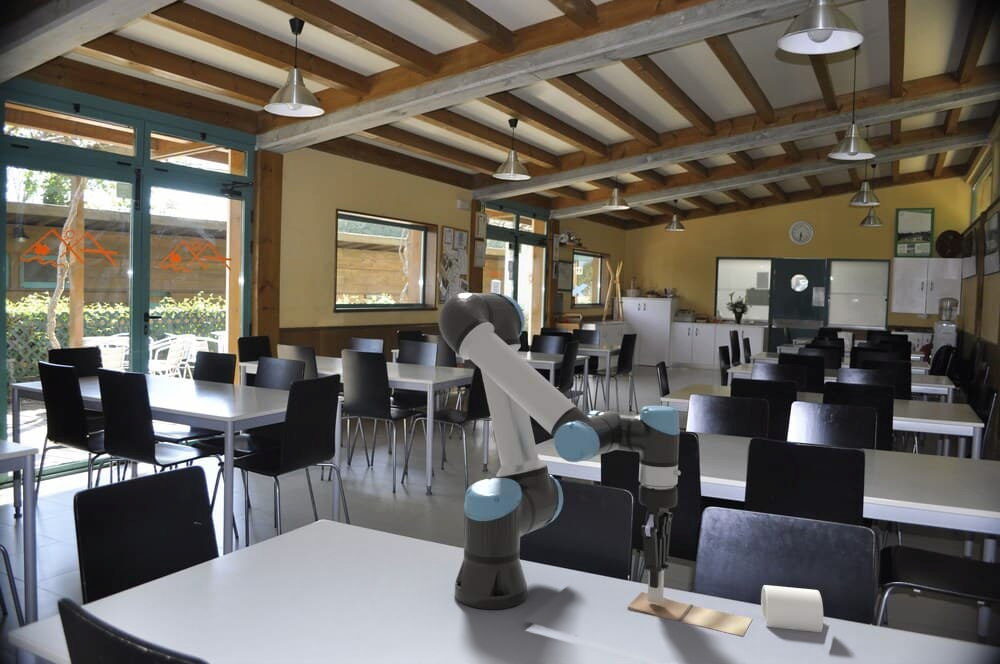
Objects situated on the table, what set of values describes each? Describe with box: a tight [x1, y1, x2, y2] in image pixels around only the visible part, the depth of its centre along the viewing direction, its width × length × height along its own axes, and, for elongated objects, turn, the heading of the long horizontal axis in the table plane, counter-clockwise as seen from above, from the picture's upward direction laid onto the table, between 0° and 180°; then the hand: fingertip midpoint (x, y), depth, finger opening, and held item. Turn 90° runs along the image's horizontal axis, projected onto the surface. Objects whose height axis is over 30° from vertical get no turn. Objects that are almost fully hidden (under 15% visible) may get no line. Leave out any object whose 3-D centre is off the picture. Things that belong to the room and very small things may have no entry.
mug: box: [760, 584, 824, 633], centre depth 146 cm, size 12×10×8 cm
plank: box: [627, 591, 690, 622], centre depth 149 cm, size 10×8×1 cm
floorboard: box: [677, 604, 753, 638], centre depth 144 cm, size 12×8×2 cm
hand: (655, 601), depth 150 cm, fingers closed
